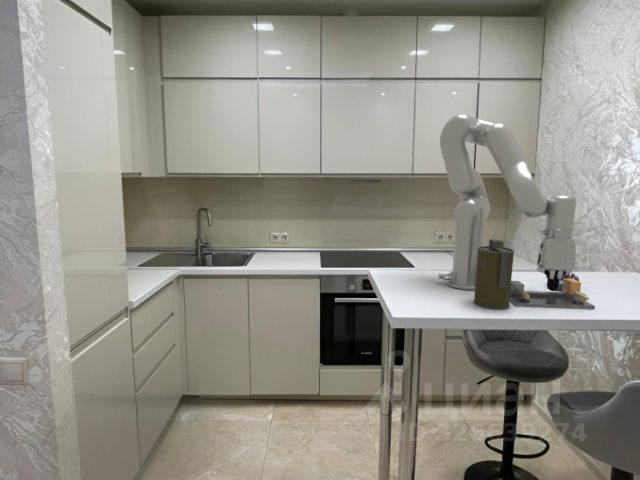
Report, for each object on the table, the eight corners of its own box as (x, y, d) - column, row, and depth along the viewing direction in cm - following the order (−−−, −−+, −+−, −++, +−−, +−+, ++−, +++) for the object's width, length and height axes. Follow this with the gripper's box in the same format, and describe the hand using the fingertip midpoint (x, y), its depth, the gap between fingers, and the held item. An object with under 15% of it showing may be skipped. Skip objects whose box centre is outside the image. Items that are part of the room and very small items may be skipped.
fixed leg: (522, 301, 130) (523, 290, 129) (508, 291, 141) (508, 280, 141) (532, 302, 129) (533, 290, 129) (517, 291, 141) (518, 280, 141)
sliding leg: (581, 303, 128) (583, 288, 128) (561, 292, 140) (563, 278, 140) (591, 304, 128) (593, 288, 128) (571, 293, 140) (572, 278, 139)
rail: (508, 298, 138) (509, 292, 138) (506, 296, 140) (506, 290, 140) (585, 300, 136) (586, 294, 136) (581, 298, 139) (582, 292, 139)
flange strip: (516, 306, 129) (516, 302, 129) (508, 300, 135) (509, 297, 135) (594, 309, 128) (595, 305, 128) (583, 303, 134) (584, 299, 134)
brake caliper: (591, 287, 144) (570, 258, 144) (560, 304, 147) (540, 275, 148) (582, 280, 155) (562, 252, 155) (553, 295, 158) (534, 268, 159)
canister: (467, 299, 136) (472, 237, 133) (499, 299, 137) (504, 237, 133) (483, 310, 125) (488, 243, 122) (517, 310, 126) (523, 243, 123)
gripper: (539, 235, 132) (533, 292, 135) (589, 236, 131) (582, 294, 134) (529, 231, 139) (523, 286, 142) (576, 233, 138) (569, 288, 141)
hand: (552, 290), depth 138 cm, fingers closed
